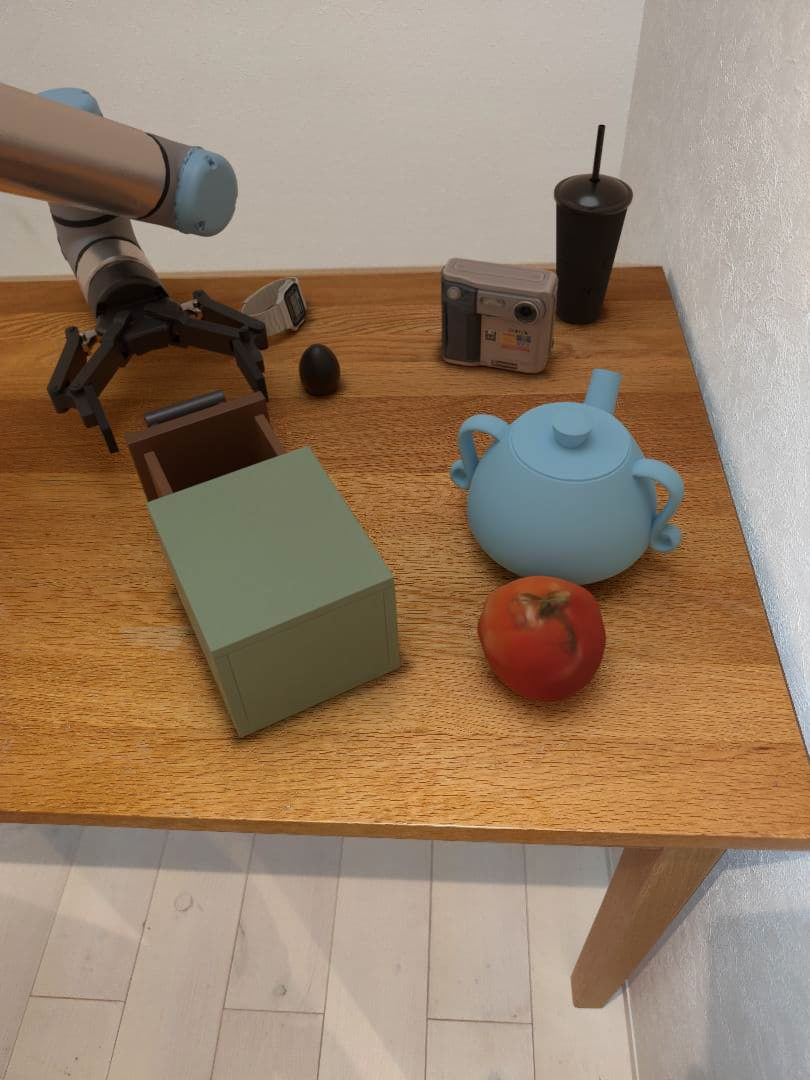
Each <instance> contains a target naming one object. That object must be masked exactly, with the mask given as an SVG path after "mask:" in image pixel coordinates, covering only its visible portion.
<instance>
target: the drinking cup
mask: <svg viewBox="0 0 810 1080" xmlns="http://www.w3.org/2000/svg"><path fill="white" fill-rule="evenodd" d="M606 127H607V126H606V125H605V124H598V125H597V132H596V139H595V148H594V154H593V162H592V163H593V164H592V172H590V173H582V174H581V173H580V174H576V175H575V174H574V175H571V176H568V177H566V178H564V179H561V180H560V181H558V183H557V184H556V185H555V187H554V188H553V200H554V202H555V274H556V275H557V277H558V287H557V300H556V311H555V314H556V315H557V316H558V318H559V319H561V320H562V321H564V322H565V323H568V324H573V325H586V324H591V323H593V322H595V321H597V320H598V319H599V318H600V316H601V313H602V309H603V305H604V302H605V299H606V294H607V290H608V286H609V283H610V279H611V276H612V275H611V274H612V272H613V271H612V270H613V266H614V262H615V258H616V256H617V252H618V246H619V243H620V239H621V235H622V231H623V227H624V224H625V220H626V216H627V212H628V208H629V207H630V205H631V204H632V202H633V199H634V192H633V189H632V188H631V186H630V185H629V184H628V183H627V182H625V181H623V180H621V179H620V178H617V177H614V176H611V175H606V174H603V173H600V171H601V165H602V157H603V156H602V155H603V149H604V141H605V134H606V133H605V132H606Z"/></svg>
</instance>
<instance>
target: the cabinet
mask: <svg viewBox="0 0 810 1080" xmlns="http://www.w3.org/2000/svg"><path fill="white" fill-rule="evenodd" d="M145 505H146V508H147V511H148V514H149V516H150V519H151V522H152V525H153V527H154V530H155V533H156V536H157V539H158V543H159V545H160V548H161V550H162V553H163V555H164V558H165V561H166V564H167V567H168V570H169V572H170V576H171V578H172V580H173V583H174V586H175V588H176V592H177V595H178V597H179V600H180V602H181V604H182V606H183V609H184V611H185V613H186V616H187V618H188V620H189V623H190V625H191V627H192V629H193V632H194V634H195V636H196V639H197V641H198V644H199V646H200V648H201V650H202V653H203V655H204V657H205V660H206V663H207V665H208V666H209V670H210V671H211V674H212V676H213V679H214V682H215V683H216V686H217V688H218V690H219V693H220V696H221V697H222V700H223V702H224V704H225V707H226V709H227V711H228V714H229V716H230V719H231V720H232V723H233V725H234V727H235V730H236V732H237V734H238V737H239V738H241V739H242V738H244V737H246V736H249V735H251V734H253V733H255V732H258V731H260V730H262V729H265V728H266V727H269V726H272V725H274V724H275V723H278V722H280V721H283V720H284V719H287V718H289V717H291V716H294V715H296V714H298V713H301V712H303V711H305V710H307V709H309V708H311V707H315V706H316V705H319V704H321V703H324V702H325V701H328V700H330V699H332V698H334V697H337V696H339V695H341V694H344V693H345V692H348V691H350V690H352V689H354V688H357V687H359V686H361V685H364V684H366V683H368V682H370V681H373V680H375V679H377V678H379V677H383V676H384V675H386V674H389V673H392V672H393V671H395V670H397V669H400V668H401V662H400V661H401V657H400V641H399V627H398V626H399V625H398V611H397V610H398V609H397V597H396V583H395V575H394V574H393V573H392V571H391V570H390V568H389V566H388V565H387V564H386V562H385V560H384V559H383V557H382V556H381V554H380V552H379V551H378V550H377V548H376V546H375V545H374V543H373V542H372V541H371V539H370V538H369V536H368V534H367V533H366V531H365V529H364V528H363V527H362V525H361V524H360V522H359V520H358V519H357V517H356V516H355V514H354V512H353V511H352V510H351V508H350V507H349V505H348V503H347V502H346V501H345V499H344V497H343V496H342V495H341V493H340V492H339V490H338V488H337V486H336V485H335V483H334V482H333V481H332V479H331V478H330V476H329V474H328V473H327V471H326V470H325V469H324V467H323V465H322V464H321V462H320V461H319V459H318V458H317V456H316V455H315V453H314V451H313V450H312V449H311V447H310V446H309V445H306V446H303V447H300V448H297V449H295V450H292V451H291V450H290V451H289V452H288V451H287V453H286V454H283V455H280V456H277V457H274V458H271V459H269V460H266V461H263V462H260V463H257V464H254V465H252V466H249V467H246V468H243V469H240V470H238V471H235V472H232V473H229V474H226V475H223V476H221V477H218V478H215V479H212V480H209V481H206V482H204V483H201V484H198V485H195V486H192V487H190V488H187V489H184V490H181V491H178V492H175V493H173V494H170V495H167V496H164V497H161V498H159V499H156V500H153V501H150V502H146V503H145Z"/></svg>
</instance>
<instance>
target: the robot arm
mask: <svg viewBox="0 0 810 1080" xmlns="http://www.w3.org/2000/svg"><path fill="white" fill-rule="evenodd" d="M0 193H3V194H8V195H13V196H18V197H23V198H28V199H32V200H37V201H42V202H46V203H47V205H48V207H49V212H50V214H51V219H52V222H53V225H54V228H55V231H56V239H57V240H56V241H57V243H58V245H59V247H60V252H61V254H62V256H63V258H64V260H65V262H67V263H68V265H69V267H70V270H71V271H72V273H73V275H74V277H75V279H76V282H77V285H78V287H79V289H80V291H81V293H82V295H83V297H84V300H85V302H86V304H87V306H88V308H89V310H90V313H91V315H92V317H93V319H94V322H95V326H94V328H92V329H88V330H84V331H79V327H78V326H76V325H70V326H68V327H66V328H65V329H64V334H65V335H64V336H65V340H66V341H65V343H64V346H63V349H62V350H61V353H60V355H59V358H58V360H57V363H56V365H55V367H54V370H53V372H52V375H51V376H50V380H49V382H48V384H47V386H46V391H47V394H48V396H49V399H50V401H51V403H52V406H53V408H54V410H55V412H56V414H65V413H67V412H69V410H70V409H75V410H77V412H78V415H79V417H80V419H81V422H82V425H83V427H84V428H86V429H88V430H89V429H93V428H95V427H99V429H100V433H101V435H102V437H103V439H104V442H105V444H106V447H107V449H108V452H109V454H110V455H113V454H116V453H119V452H120V450H119V447H118V443H117V440H116V439H115V436H114V434H113V429H112V428H111V425H110V423H109V420H108V419H107V415H106V414H105V411H104V409H103V407H102V406H103V405H102V404H101V402H100V400H99V397H100V395H101V394H102V393H103V391H104V390H105V389H106V387H107V386H108V385H109V383H110V381H111V380H112V379H113V378H114V376H115V374H117V372H118V371H119V369H120V368H122V369H124V368H126V366H127V364H128V363H129V362H130V361H131V359H132V358H133V356H135V355H136V357H139V356H142V355H143V356H144V355H145V354H148V353H150V352H152V351H157V350H163V349H166V348H169V347H170V346H172V347H176V348H180V349H185V350H187V349H189V347H192V348H197V349H199V350H200V349H201V350H205V351H209V352H212V353H216V354H220V355H225V356H228V357H233V358H235V362H236V366H237V368H238V369H239V371H240V372H241V374H242V376H243V377H244V379H245V381H246V382H247V384H248V385H249V388H250V389H251V390H252V393H255V392H258V391H261V393H262V394H263V396H264V397H265V399H266V404H267V403H269V402H270V398H269V393H268V388H267V382H266V377H265V376H264V373H265V372H266V367H265V361H264V356H263V354H262V353H261V351H266V350H268V349H269V348H270V342H269V336H267V331H266V325H265V323H264V322H262V321H260V320H257V319H255V318H253V317H251V316H248V315H246V314H244V313H242V312H241V311H240V310H237V309H235V308H233V307H230V306H228V305H226V304H223V303H221V302H219V301H217V300H214V299H212V298H211V297H210V295H208V293H207V292H206V291H205V290H203V289H195V290H194V291H192V292H191V293H192V298H193V299H191V300H188V301H186V302H183V303H179V302H178V301H175V300H173V299H172V298H171V296H170V294H169V293H168V290H167V289H166V287H165V286H164V284H163V282H162V281H161V278H159V276H158V274H157V272H156V271H155V269H154V267H153V265H152V264H151V262H150V260H149V258H147V255H146V254H145V252H144V250H143V249H142V247H141V245H140V244H139V241H138V239H137V237H136V234H135V231H134V228H133V224H132V221H137V222H141V223H146V224H151V225H157V226H161V227H165V228H169V229H171V230H175V231H178V232H179V233H180V234H185V235H195V236H198V237H203V238H211V237H213V236H217V235H219V234H220V233H222V232H223V231H224V230H225V229H226V228H227V227H228V225H229V224H230V223H231V221H232V219H233V217H234V214H235V211H236V205H237V199H238V197H239V186H238V179H237V175H236V173H235V170H234V167H233V166H232V164H231V163H230V161H229V160H228V159H227V158H226V157H224V156H223V155H221V154H219V153H216V152H214V151H210V150H207V149H205V148H203V146H199V145H193V146H192V145H189V144H186V143H181V142H178V141H174V140H172V139H168V138H166V137H163V136H160V135H157V134H154V133H151V132H147V131H145V130H142V129H139V128H137V127H134V126H131V125H128V124H125V123H122V122H119V121H116V120H113V119H110V118H107V117H105V116H104V113H102V111H101V108H100V105H99V103H98V101H97V99H96V98H95V97H94V96H93V95H92V94H91V93H90V92H89V91H87V90H85V89H82V88H77V87H55V88H50V89H45V90H43V91H39V92H37V93H33V92H30V91H27V90H24V89H22V88H19V87H16V86H13V85H10V84H6V83H4V82H1V81H0ZM131 220H132V221H131ZM98 343H99V344H100V345H99V346H98V347H97V349H96V350H95V351H94V352H93V353H92V350H93V348H94V346H95V345H96V344H98ZM88 357H90V358H89V359H88Z"/></svg>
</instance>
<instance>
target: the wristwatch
mask: <svg viewBox="0 0 810 1080" xmlns="http://www.w3.org/2000/svg"><path fill="white" fill-rule="evenodd" d="M242 305H243V306H242V307H241V308H240V312H242V313H244V314H246V315H248V316H251V317H253V318H255V319H257V320H260V321H262V322H264V323H265V325H266V331H267V337H270V336H274V335H277V334H279V333H281V332H283V331H285V330H289V329H290V330H291V331H298V329H299V327H300V326H301V324H303V323H304V321H305V318H306V315H307V308H308V305H307V302H306V299H305V296H304V293H303V290H302V287H301V284H300V281H299V278H298V277H296V276H289V277H283V278H280V279H278V280H274V281H272V282H269V283H268V284H266V285H264V286H262V287H261V288H259V289H257V290H256V291H255V292H254V293H252V294H251V295H249V296H247V298H245V299H244V300H243V301H242Z"/></svg>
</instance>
